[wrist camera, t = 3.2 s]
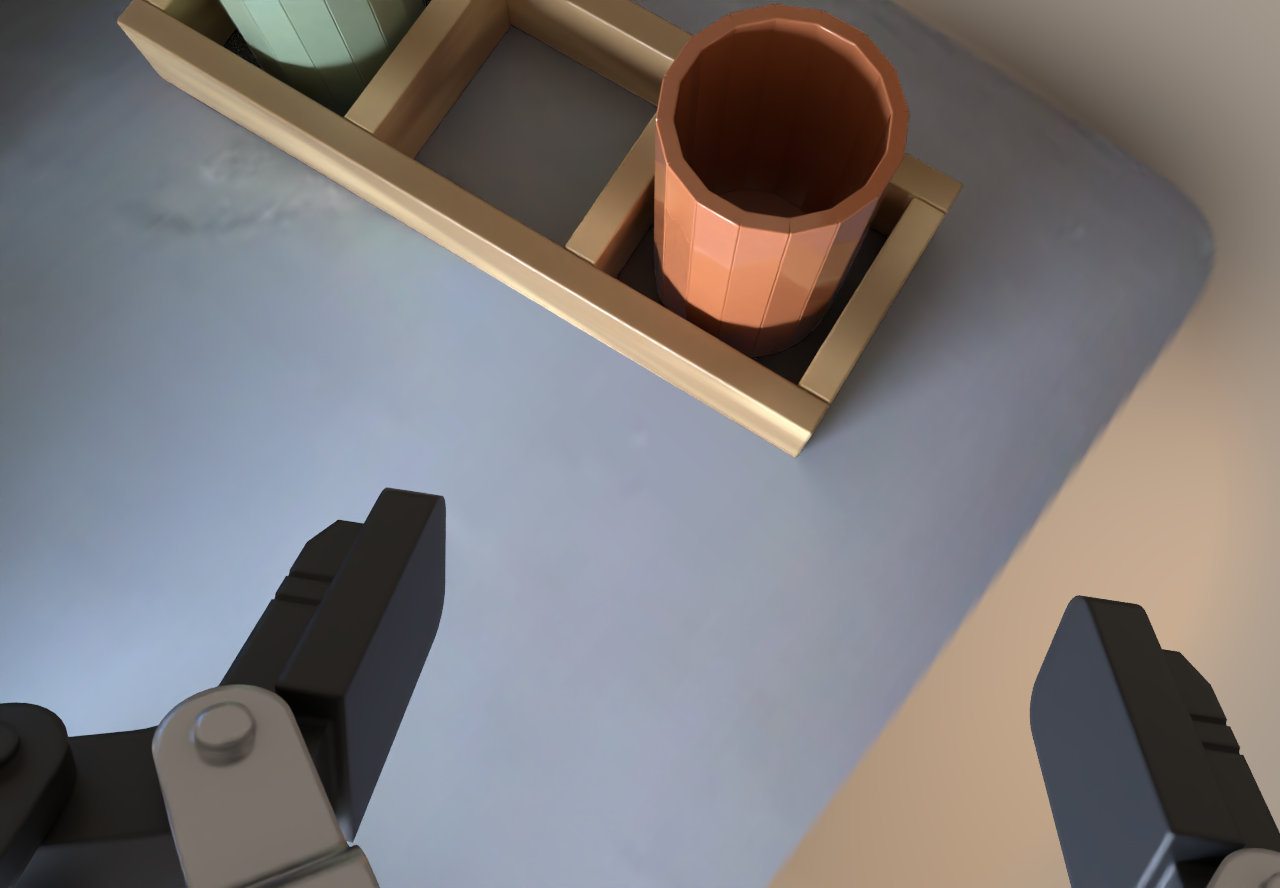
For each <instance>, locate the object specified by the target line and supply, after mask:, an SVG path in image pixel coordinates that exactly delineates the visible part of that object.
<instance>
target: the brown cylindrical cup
mask: <svg viewBox="0 0 1280 888" xmlns="http://www.w3.org/2000/svg"><path fill="white" fill-rule="evenodd" d="M908 123H909V109H908V106H907V103H906V100H905V96H904V93H903V90H902V87H901V84H900V80H899V77H898V74H897V71H896V70H895V67H894V66H893V65H892V64H891V63H890V61H889V60H888V59H887V58H886V57H885V55H884V54H883V53H882V52H881V51H880V50H879V48H878V47H877V46H876V45H875V44H874V43H873V41H872V40H871V39H870V38H869V37H868V35H866V34H865V33H864V32H862V31H860V30H859V29H857V28H855V27H853V26H851V25H849V24H848V23H846V22H844V21H842V20H840V19H838V18H836V17H835V16H833V15H831V14H829V13H827V12H825V11H824V12H823V11H822V10H817V9H810V8H803V7H796V6H789V5H782V4H776V5H775V4H771V5H766V6H761V7H757V8H752V9H747V10H742V11H737V12H733V13H730V14H729V15H728V14H727V15H725V16H724V17H722V18H721V19H719V20H718V21H716V22H714V23H713V24H711V25H710V26H708V27H707V28H705V29H704V30H702V31H700V32H699V33H697V34H696V35H694V36H693V37H691V38H690V40H688V41H687V43H686V44H685V46H684V47H683V48H682V50H681V51H680V53H679V54H678V56H677V57H676V59H675V60H674V62H673V63H672V64H671V66H670V67H669V69H668V70H667V72H666V73H665V75H664V78H663V80H662V85H661V91H660V96H659V102H658V107H657V113H656V118H655V197H654V270H655V278H656V284H657V290H658V293H659V296H660V299H661V302H662V304H663V306H664V307H665V308H666V309H668V310H670V311H672V312H673V313H675V314H677V315H678V316H680V317H682V318H683V319H685V320H687V321H688V322H690V323H692V324H694V325H695V326H697V327H699V328H700V329H702V330H704V331H705V332H707V333H709V334H711V335H712V336H714V337H716V338H717V339H719V340H721V341H722V342H724V343H726V344H727V345H729V346H731V347H733V348H734V349H736V350H738V351H739V352H741V353H743V354H744V355H746V356H748V357H759V356H766V355H770V354H774V353H777V352H781V351H783V350H785V349H787V348H790V347H792V346H793V345H795V344H797V343H798V342H800V341H802V340H803V339H804V338H805V337H807V336H808V335H809V334H810V333H811V332H812V331H813V330H814V329H815V328H816V327H817V326H818V325H819V323H820V322H821V321H822V319H823V318H824V316H825V315H826V313H827V311H828V309H829V307H830V305H831V304H832V302H833V301H834V299H835V297H836V296H837V294H838V292H839V290H840V288H841V286H842V283H843V281H844V279H845V277H846V275H847V273H848V271H849V269H850V267H851V265H852V263H853V261H854V259H855V257H856V255H857V253H858V251H859V249H860V247H861V245H862V243H863V241H864V239H865V236H866V234H867V232H868V230H869V228H870V226H871V224H872V222H873V220H874V218H875V216H876V214H877V212H878V210H879V208H880V206H881V204H882V202H883V200H884V198H885V196H886V194H887V191H888V189H889V187H890V185H891V183H892V181H893V179H894V177H895V175H896V173H897V171H898V169H899V167H900V165H901V163H902V161H903V158H904V155H905V147H906V139H907V131H908Z"/></svg>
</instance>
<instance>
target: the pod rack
mask: <svg viewBox="0 0 1280 888" xmlns="http://www.w3.org/2000/svg"><path fill="white" fill-rule="evenodd" d="M117 23H118V24H119V26H120V27H121V28H122V29H123V31H124V32H125V33H126V34H127V36H128V37H129V38H130V39H131V40H132V42H133V43H134V44H135V45H136V47H137V48H138V49H139V50H140V52H141V53H142V54H143V55H144V57H145V58H146V59H147V60H148V61H149V63H150V64H151V65H152V66H153V68H154V69H155V70H156V71H157V73H158V74H159V75H160V76H161V78H163V79H164V80H166V81H168V82H169V83H171V84H173V85H174V86H176V87H178V88H179V89H181V90H183V91H184V92H186V93H188V94H189V95H191V96H193V97H194V98H196V99H198V100H199V101H201V102H203V103H204V104H206V105H208V106H209V107H211V108H213V109H214V110H216V111H218V112H219V113H221V114H223V115H224V116H226V117H228V118H229V119H231V120H233V121H234V122H236V123H238V124H239V125H241V126H243V127H244V128H246V129H248V130H249V131H251V132H253V133H254V134H256V135H258V136H259V137H261V138H263V139H264V140H266V141H268V142H269V143H271V144H273V145H274V146H276V147H278V148H279V149H281V150H283V151H284V152H286V153H288V154H289V155H291V156H293V157H294V158H296V159H298V160H299V161H301V162H303V163H304V164H306V165H308V166H309V167H311V168H313V169H314V170H316V171H318V172H319V173H321V174H323V175H324V176H326V177H328V178H329V179H331V180H333V181H334V182H336V183H338V184H339V185H341V186H343V187H344V188H346V189H348V190H349V191H351V192H353V193H354V194H356V195H358V196H359V197H361V198H363V199H364V200H366V201H368V202H369V203H371V204H373V205H374V206H376V207H378V208H379V209H381V210H383V211H384V212H386V213H388V214H389V215H391V216H393V217H394V218H396V219H398V220H399V221H401V222H403V223H404V224H406V225H408V226H409V227H411V228H413V229H414V230H416V231H418V232H419V233H421V234H423V235H424V236H426V237H428V238H429V239H431V240H433V241H434V242H436V243H438V244H439V245H441V246H443V247H444V248H446V249H448V250H449V251H451V252H453V253H454V254H456V255H458V256H459V257H461V258H463V259H464V260H466V261H468V262H469V263H471V264H473V265H474V266H476V267H478V268H479V269H481V270H483V271H484V272H486V273H488V274H489V275H491V276H493V277H494V278H496V279H498V280H499V281H501V282H503V283H504V284H506V285H508V286H509V287H511V288H513V289H514V290H516V291H518V292H519V293H521V294H523V295H524V296H526V297H528V298H529V299H531V300H533V301H534V302H536V303H538V304H539V305H541V306H543V307H544V308H546V309H548V310H550V311H551V312H553V313H555V314H556V315H558V316H560V317H561V318H563V319H565V320H566V321H568V322H570V323H571V324H573V325H575V326H576V327H578V328H580V329H581V330H583V331H585V332H586V333H588V334H590V335H591V336H593V337H595V338H596V339H598V340H600V341H601V342H603V343H605V344H606V345H608V346H610V347H611V348H613V349H615V350H616V351H618V352H620V353H621V354H623V355H625V356H626V357H628V358H630V359H631V360H633V361H635V362H636V363H638V364H640V365H641V366H643V367H645V368H646V369H648V370H650V371H651V372H653V373H655V374H656V375H658V376H660V377H661V378H663V379H665V380H666V381H668V382H670V383H671V384H673V385H675V386H676V387H678V388H680V389H681V390H683V391H685V392H686V393H688V394H690V395H691V396H693V397H695V398H696V399H698V400H700V401H701V402H703V403H705V404H706V405H708V406H710V407H711V408H713V409H715V410H716V411H718V412H720V413H721V414H723V415H725V416H726V417H728V418H730V419H731V420H733V421H735V422H736V423H738V424H740V425H741V426H743V427H745V428H746V429H748V430H750V431H751V432H753V433H755V434H756V435H758V436H760V437H761V438H763V439H765V440H766V441H768V442H770V443H771V444H773V445H775V446H776V447H778V448H780V449H781V450H783V451H785V452H786V453H788V454H790V455H791V456H793V457H797V456H798V455H799V454H800V452H801V451H802V449H803V448H804V446H805V445H806V443H807V442H808V440H809V439H810V437H811V436H812V434H813V433H814V431H815V429H816V428H817V426H818V424H819V423H820V421H821V419H822V418H823V416H824V415H825V413H826V411H827V410H828V407H829V406H830V404H831V403H832V401H833V400H834V398H835V396H836V395H837V393H838V391H839V390H840V388H841V387H842V385H843V383H844V382H845V380H846V378H847V377H848V375H849V373H850V372H851V370H852V368H853V367H854V365H855V363H856V362H857V360H858V359H859V357H860V355H861V354H862V352H863V350H864V349H865V347H866V345H867V344H868V342H869V340H870V339H871V337H872V335H873V334H874V332H875V331H876V329H877V327H878V326H879V324H880V322H881V321H882V319H883V317H884V316H885V314H886V312H887V311H888V309H889V308H890V306H891V304H892V303H893V301H894V299H895V298H896V296H897V294H898V293H899V291H900V289H901V288H902V286H903V284H904V283H905V281H906V280H907V278H908V276H909V275H910V273H911V271H912V270H913V268H914V266H915V265H916V263H917V261H918V260H919V258H920V256H921V255H922V253H923V252H924V250H925V248H926V247H927V245H928V243H929V242H930V240H931V238H932V237H933V235H934V233H935V232H936V230H937V228H938V227H939V225H940V224H941V222H942V220H943V219H944V217H945V215H946V214H947V212H948V210H949V209H950V207H951V205H952V204H953V202H954V201H955V199H956V197H957V196H958V194H959V192H960V191H961V189H962V187H963V185H962V184H961V183H959V182H958V181H956V180H954V179H952V178H950V177H949V176H947V175H945V174H943V173H941V172H939V171H938V170H936V169H934V168H932V167H930V166H929V165H927V164H925V163H923V162H921V161H920V160H918V159H916V158H914V157H912V156H911V155H909V154H907V153H905V155H904V158H903V161H902V163H901V165H900V167H899V169H898V171H897V173H896V175H895V177H894V179H893V181H892V183H891V185H890V187H889V189H888V191H887V194H886V196H885V198H884V200H883V202H882V204H881V206H880V208H879V210H878V212H877V214H876V216H875V218H874V220H873V222H872V224H871V226H870V227H871V228H873V229H875V230H877V231H879V232H880V233H882V234H884V235H886V236H887V237H888V239H887V241H886V242H885V244H884V245H883V247H882V249H881V250H880V252H879V254H878V255H877V257H876V258H875V260H874V262H873V263H872V265H871V267H870V268H869V270H868V271H867V273H866V275H865V276H864V278H863V280H862V281H861V283H860V284H859V286H858V288H857V289H856V291H855V292H854V294H853V296H852V297H851V299H850V301H849V302H848V304H847V305H846V307H845V309H844V310H843V312H842V314H841V315H840V317H839V318H838V320H837V322H836V323H835V325H834V327H833V328H832V330H831V331H830V333H829V335H828V336H827V338H826V340H825V341H824V343H823V344H822V346H821V348H820V349H819V351H818V352H817V354H816V356H815V357H814V359H813V361H812V362H811V364H810V365H809V367H808V369H807V370H806V372H805V374H804V375H803V377H802V378H801V380H800V382H799V383H798V385H795V384H794V383H792V382H790V381H788V380H787V379H785V378H783V377H782V376H780V375H778V374H777V373H775V372H773V371H771V370H770V369H768V368H766V367H765V366H763V365H761V364H760V363H758V362H756V361H755V360H753V359H751V358H749V357H748V356H746V355H744V354H743V353H741V352H739V351H738V350H736V349H734V348H733V347H731V346H729V345H727V344H726V343H724V342H722V341H721V340H719V339H717V338H716V337H714V336H712V335H711V334H709V333H707V332H705V331H704V330H702V329H700V328H699V327H697V326H695V325H694V324H692V323H690V322H688V321H687V320H685V319H683V318H682V317H680V316H678V315H677V314H675V313H673V312H672V311H670V310H668V309H666V308H665V307H663V306H661V305H660V304H658V303H656V302H655V301H653V300H651V299H650V298H648V297H646V296H644V295H643V294H641V293H639V292H638V291H636V290H634V289H633V288H631V287H629V286H627V285H626V284H624V283H622V282H621V281H619V280H617V279H616V277H617V276H618V274H619V273H620V271H621V270H622V268H623V267H624V265H625V264H626V262H627V261H628V259H629V258H630V256H631V255H632V253H633V252H634V250H635V249H636V247H637V246H638V244H639V243H640V241H641V240H642V238H643V237H644V235H645V234H646V232H647V231H648V229H649V228H650V226H651V225H652V223H653V222H654V197H655V118H656V113H657V112H656V113H655V115H654V116H653V118H652V119H651V120H650V122H649V123H648V125H647V126H646V128H645V129H644V131H643V132H642V134H641V135H640V137H639V138H638V140H637V141H636V142H635V144H634V145H633V147H632V148H631V150H630V151H629V153H628V154H627V156H626V157H625V159H624V160H623V161H622V163H621V164H620V166H619V167H618V169H617V170H616V172H615V173H614V175H613V176H612V178H611V179H610V181H609V182H608V183H607V185H606V186H605V188H604V189H603V191H602V192H601V194H600V195H599V197H598V198H597V200H596V201H595V202H594V204H593V205H592V207H591V208H590V210H589V211H588V213H587V214H586V216H585V217H584V219H583V220H582V222H581V223H580V224H579V226H578V227H577V229H576V230H575V232H574V233H573V235H572V236H571V238H570V239H569V241H568V242H567V244H566V245H565V248H563V247H561V246H560V245H558V244H556V243H555V242H553V241H551V240H550V239H548V238H546V237H544V236H543V235H541V234H539V233H538V232H536V231H534V230H533V229H531V228H529V227H528V226H526V225H524V224H522V223H521V222H519V221H517V220H516V219H514V218H512V217H511V216H509V215H507V214H506V213H504V212H502V211H500V210H499V209H497V208H495V207H494V206H492V205H490V204H489V203H487V202H485V201H483V200H482V199H480V198H478V197H477V196H475V195H473V194H472V193H470V192H468V191H467V190H465V189H463V188H461V187H460V186H458V185H456V184H455V183H453V182H451V181H450V180H448V179H446V178H445V177H443V176H441V175H439V174H438V173H436V172H434V171H433V170H431V169H429V168H428V167H426V166H424V165H422V164H421V163H419V162H417V161H416V160H414V158H415V157H416V155H417V154H418V152H419V151H420V150H421V148H422V147H423V146H424V144H425V143H426V141H427V140H428V139H429V137H430V136H431V135H432V133H433V132H434V131H435V129H436V128H437V126H438V125H439V124H440V122H441V121H442V120H443V118H444V117H445V115H446V114H447V113H448V111H449V110H450V109H451V107H452V106H453V104H454V103H455V102H456V100H457V99H458V98H459V96H460V95H461V93H462V92H463V91H464V89H465V88H466V87H467V85H468V84H469V82H470V81H471V80H472V78H473V77H474V76H475V74H476V73H477V71H478V70H479V69H480V67H481V66H482V65H483V63H484V62H485V60H486V59H487V58H488V56H489V55H490V54H491V52H492V51H493V49H494V48H495V47H496V45H497V44H498V43H499V41H500V40H501V38H502V37H503V36H504V34H505V33H506V32H507V30H508V29H509V27H510V26H511V24H512V25H513V26H515V27H517V28H519V29H521V30H522V31H524V32H526V33H528V34H529V35H531V36H533V37H535V38H537V39H538V40H540V41H542V42H544V43H545V44H547V45H549V46H551V47H552V48H554V49H556V50H558V51H560V52H561V53H563V54H565V55H567V56H568V57H570V58H572V59H574V60H576V61H577V62H579V63H581V64H583V65H584V66H586V67H588V68H590V69H591V70H593V71H595V72H597V73H599V74H600V75H602V76H604V77H606V78H607V79H609V80H611V81H613V82H615V83H616V84H618V85H620V86H622V87H623V88H625V89H627V90H629V91H630V92H632V93H634V94H636V95H638V96H639V97H641V98H643V99H645V100H646V101H648V102H650V103H652V104H653V105H655V106H657V107H658V102H659V96H660V91H661V85H662V80H663V78H664V75H665V73H666V72H667V70H668V69H669V67H670V66H671V64H672V63H673V62H674V60H675V59H676V57H677V56H678V54H679V53H680V51H681V50H682V48H683V47H684V46H685V44H686V43H687V41H688V40H690V38H691V37H693V35H691V34H690V33H688V32H686V31H684V30H682V29H681V28H679V27H677V26H675V25H673V24H671V23H670V22H668V21H666V20H664V19H662V18H661V17H659V16H657V15H655V14H653V13H652V12H650V11H648V10H646V9H644V8H643V7H641V6H639V5H637V4H635V3H633V2H632V1H630V0H431V2H430V3H429V4H428V6H427V7H426V8H425V10H424V11H423V12H422V14H421V15H420V16H419V18H418V19H417V20H416V22H415V23H414V24H413V26H412V27H411V28H410V30H409V31H408V32H407V34H406V35H405V36H404V38H403V39H402V40H401V42H400V43H399V44H398V46H397V47H396V48H395V50H394V51H393V52H392V54H391V55H390V56H389V58H388V59H387V60H386V62H385V63H384V64H383V66H382V67H381V68H380V70H379V71H378V72H377V74H376V75H375V76H374V78H373V79H372V80H371V82H370V83H369V84H368V86H367V87H366V88H365V90H364V91H363V92H362V94H361V95H360V96H359V98H358V99H357V100H356V102H355V103H354V104H353V106H352V107H351V108H350V110H349V111H348V112H347V114H346V115H345V118H343V117H341V116H339V115H338V114H336V113H334V112H333V111H331V110H329V109H328V108H326V107H324V106H323V105H321V104H319V103H317V102H316V101H314V100H312V99H311V98H309V97H307V96H306V95H304V94H302V93H301V92H299V91H297V90H295V89H294V88H292V87H290V86H289V85H287V84H285V83H284V82H282V81H280V80H278V79H277V78H275V77H273V76H272V75H270V74H268V73H267V72H265V71H263V70H262V69H260V68H258V67H256V66H255V65H253V64H251V63H250V62H248V61H246V60H245V59H243V58H241V57H240V56H238V55H236V54H234V53H233V52H231V51H229V50H228V49H226V48H224V47H223V45H224V44H225V42H226V41H227V40H228V38H229V37H230V36H231V35H232V33H233V32H234V31H235V30H236V27H235V26H234V24H233V23H232V21H231V20H230V18H229V16H228V15H227V13H226V12H225V10H224V9H223V7H222V5H221V4H220V2H219V1H218V0H132V2H131V3H130V4H129V5H128V6H127V8H126V9H125V10H124V11H123V13H122V14H121V15H120V16H119V18H118V19H117Z"/></svg>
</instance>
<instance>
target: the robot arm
mask: <svg viewBox="0 0 1280 888" xmlns="http://www.w3.org/2000/svg"><path fill="white" fill-rule="evenodd" d="M445 542H446V506H445V500H444V497H443V496H440V495H433V494H427V493H420V492H414V491H407V490H400V489H394V488H385V489H384V490H383V491H382V492H381V494H380V496H379V497H378V499H377V501H376V503H375V505H374V506H373V508H372V510H371V512H370V514H369V515H368V517H367V519H366V521H365V523H364V524H362V523H356V522H350V521H343V520H337V521H336V522H334V523H333V524H332V525H330V526H329V527H327V528H326V529H325V530H323V531H322V532H320V533H319V534H318V535H316V536H315V537H313V538H312V539H311V540H309V541H308V542H307V543H306V545H305V546H304V548H303V549H302V551H301V553H300V554H299V556H298V558H297V559H296V561H295V562H294V564H293V566H292V567H291V569H290V573H289V576H286V577H285V579H284V580H283V582H282V584H281V585H280V587H279V589H278V590H277V592H276V595H275V599H274V600H273V599H272V600H271V602H270V603H269V605H268V606H267V608H266V610H265V611H264V613H263V615H262V616H261V618H260V619H259V621H258V623H257V624H256V626H255V628H254V629H253V631H252V632H251V634H250V636H249V637H248V639H247V641H246V642H245V644H244V646H243V647H242V649H241V650H240V652H239V654H238V655H237V657H236V659H235V660H234V662H233V663H232V665H231V667H230V668H229V670H228V672H227V673H226V675H225V676H224V678H223V680H222V681H221V683H220V684H219V686H218V687H215V688H211V689H208V690H205V691H202V692H199V693H197V694H195V695H193V696H191V697H189V698H187V699H185V700H184V701H182V702H181V703H179V704H178V705H176V706H175V707H174V708H173V709H172V710H171V711H170V712H168V714H167V715H166V716H165V717H164V718H163V719H162V721H161V722H160V724H159V725H158V726H154V727H150V728H146V729H140V730H134V731H125V732H115V733H105V734H95V735H85V736H75V737H68V735H67V731H66V727H65V725H64V724H63V722H62V720H61V719H60V718H59V717H58V716H57V715H56V714H55V713H53V712H52V711H50V710H48V709H47V708H44V707H41V706H38V705H34V704H28V703H2V704H0V888H380V887H379V884H378V882H377V880H376V877H375V875H374V873H373V870H372V868H371V866H370V864H369V861H368V859H367V858H366V856H365V854H364V852H363V851H362V849H361V848H360V847H359V846H358V845H354V846H352V847H349V845H348V844H347V842H346V841H349V842H353V841H354V838H355V836H356V833H357V831H358V828H359V826H360V823H361V821H362V818H363V816H364V813H365V811H366V808H367V806H368V803H369V801H370V798H371V796H372V793H373V791H374V788H375V786H376V783H377V781H378V778H379V776H380V773H381V771H382V768H383V766H384V763H385V761H386V758H387V756H388V753H389V751H390V748H391V746H392V743H393V741H394V738H395V736H396V733H397V731H398V728H399V726H400V723H401V721H402V718H403V716H404V713H405V711H406V708H407V706H408V703H409V701H410V698H411V696H412V693H413V691H414V688H415V686H416V683H417V681H418V678H419V676H420V673H421V671H422V668H423V666H424V663H425V661H426V658H427V656H428V653H429V651H430V648H431V646H432V643H433V641H434V638H435V636H436V633H437V630H438V627H439V623H440V619H441V614H442V609H443V603H444V595H445ZM1226 720H1227V719H1226V717H1225V715H1224V712H1223V710H1222V708H1221V706H1220V704H1219V702H1218V700H1217V697H1216V695H1215V693H1214V691H1213V689H1212V687H1211V685H1210V684H1209V683H1208V682H1207V681H1206V680H1205V679H1204V677H1203V676H1202V675H1201V674H1200V673H1199V672H1198V671H1197V670H1196V669H1195V668H1194V667H1193V666H1192V665H1191V664H1190V663H1189V662H1188V660H1187V659H1186V658H1185V657H1184V656H1183V655H1182V654H1181V653H1180V652H1177V651H1170V650H1164V649H1161V646H1160V644H1159V642H1158V639H1157V637H1156V635H1155V632H1154V630H1153V628H1152V625H1151V623H1150V621H1149V618H1148V616H1147V614H1146V612H1145V610H1144V609H1143V608H1142V607H1141V606H1140V605H1137V604H1132V603H1125V602H1119V601H1112V600H1106V599H1099V598H1092V597H1086V596H1080V595H1079V596H1075V597H1074V598H1073V599H1072V600H1071V601H1070V602H1069V604H1068V606H1067V608H1066V610H1065V612H1064V615H1063V617H1062V619H1061V622H1060V624H1059V627H1058V629H1057V631H1056V634H1055V636H1054V638H1053V640H1052V643H1051V645H1050V648H1049V650H1048V652H1047V655H1046V657H1045V660H1044V662H1043V664H1042V666H1041V669H1040V671H1039V674H1038V676H1037V678H1036V681H1035V683H1034V687H1033V691H1032V696H1031V703H1030V725H1031V731H1032V736H1033V740H1034V743H1035V747H1036V751H1037V755H1038V759H1039V763H1040V767H1041V771H1042V775H1043V779H1044V782H1045V786H1046V790H1047V794H1048V798H1049V802H1050V805H1051V810H1052V814H1053V817H1054V821H1055V825H1056V829H1057V833H1058V837H1059V841H1060V845H1061V848H1062V852H1063V856H1064V860H1065V864H1066V868H1067V872H1068V876H1069V879H1070V883H1071V887H1072V888H1280V833H1279V831H1278V828H1277V826H1276V824H1275V822H1274V820H1273V818H1272V816H1271V814H1270V811H1269V809H1268V807H1267V805H1266V803H1265V801H1264V799H1263V796H1262V795H1261V792H1260V790H1259V788H1258V786H1257V783H1256V781H1255V779H1254V777H1253V775H1252V773H1251V770H1250V768H1249V766H1248V764H1247V762H1246V760H1245V758H1244V756H1243V755H1240V754H1239V749H1240V747H1239V745H1238V743H1237V740H1236V738H1235V736H1234V734H1233V732H1232V730H1231V727H1229V726H1226Z"/></svg>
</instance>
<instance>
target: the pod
mask: <svg viewBox="0 0 1280 888" xmlns="http://www.w3.org/2000/svg"><path fill="white" fill-rule="evenodd" d="M218 1H219V2H220V4H221V5H222V7H223V9H224V10H225V12H226V13H227V15H228V16H229V18H230V20H231V21H232V23H233V24H234V26H235V27H236V29H237V31H238V32H239V34H240V35H241V37H242V39H243V40H244V42H245V43H246V45H247V46H248V48H249V50H250V51H251V53H252V54H253V56H254V57H255V59H256V61H257V62H258V64H259V65H260V66H261V68H262V69H263V71H265V72H267V73H268V74H270V75H272V76H273V77H275V78H277V79H278V80H280V81H282V82H284V83H285V84H287V85H289V86H290V87H292V88H294V89H295V90H297V91H299V92H301V93H302V94H304V95H306V96H307V97H309V98H311V99H312V100H314V101H316V102H317V103H319V104H321V105H323V106H324V107H326V108H328V109H329V110H331V111H333V112H334V113H336V114H338V115H339V116H341V117H345V115H346V114H347V112H348V111H349V110H350V108H351V107H352V106H353V104H354V103H355V102H356V100H357V99H358V98H359V96H360V95H361V94H362V92H363V91H364V90H365V88H366V87H367V86H368V84H369V83H370V82H371V80H372V79H373V78H374V76H375V75H376V74H377V72H378V71H379V70H380V68H381V67H382V66H383V64H384V63H385V62H386V60H387V59H388V58H389V56H390V55H391V54H392V52H393V51H394V50H395V48H396V47H397V46H398V44H399V43H400V42H401V40H402V39H403V38H404V36H405V35H406V34H407V32H408V31H409V30H410V28H411V27H412V26H413V24H414V23H415V22H416V20H417V19H418V18H419V16H420V15H421V14H422V12H423V11H424V10H425V8H426V4H425V0H218Z"/></svg>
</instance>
